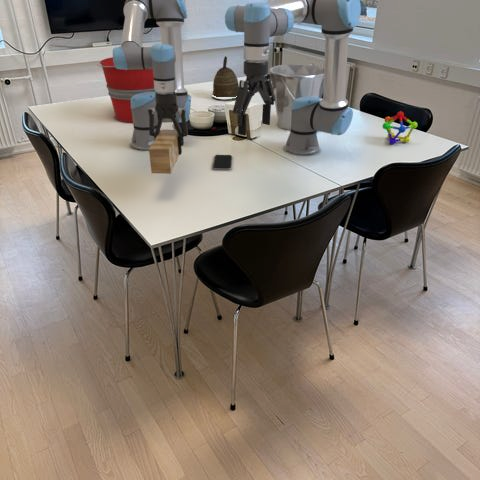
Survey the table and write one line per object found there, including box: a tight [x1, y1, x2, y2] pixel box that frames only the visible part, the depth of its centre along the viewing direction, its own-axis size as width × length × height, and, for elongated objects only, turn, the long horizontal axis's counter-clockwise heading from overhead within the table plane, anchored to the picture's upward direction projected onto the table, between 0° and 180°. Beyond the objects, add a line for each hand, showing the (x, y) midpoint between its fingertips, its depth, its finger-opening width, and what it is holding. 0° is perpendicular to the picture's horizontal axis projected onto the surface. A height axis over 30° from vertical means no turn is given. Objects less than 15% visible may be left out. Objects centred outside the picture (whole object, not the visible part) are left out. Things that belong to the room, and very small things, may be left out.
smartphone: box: [212, 154, 233, 171], centre depth 188 cm, size 7×1×15 cm
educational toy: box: [382, 110, 418, 145], centre depth 207 cm, size 16×13×15 cm
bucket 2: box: [269, 63, 324, 131], centre depth 226 cm, size 30×30×28 cm
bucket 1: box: [96, 56, 156, 124], centre depth 238 cm, size 35×35×30 cm
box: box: [148, 129, 180, 175], centre depth 161 cm, size 22×7×9 cm, turn 178°
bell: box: [212, 56, 239, 97], centre depth 278 cm, size 19×26×20 cm
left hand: (170, 153), depth 169 cm, fingers closed on box, 7 cm apart
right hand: (254, 129), depth 145 cm, fingers open, 13 cm apart
